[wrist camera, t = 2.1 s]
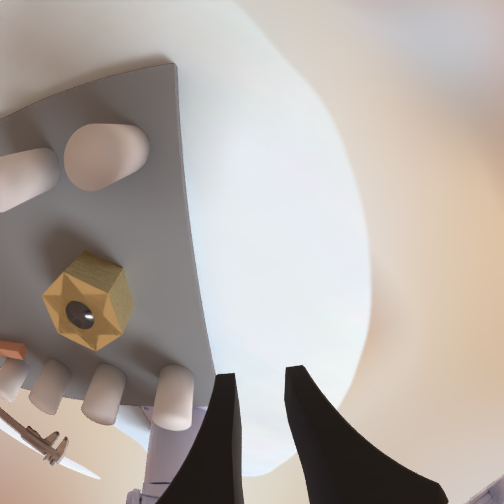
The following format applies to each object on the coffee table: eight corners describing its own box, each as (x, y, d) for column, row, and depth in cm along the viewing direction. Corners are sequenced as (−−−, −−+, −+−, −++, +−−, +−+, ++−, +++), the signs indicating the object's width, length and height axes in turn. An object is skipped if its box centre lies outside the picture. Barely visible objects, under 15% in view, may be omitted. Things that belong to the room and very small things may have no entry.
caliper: (68, 435, 27) (59, 468, 21) (69, 438, 28) (60, 470, 22) (-29, 380, 23) (-44, 405, 17) (-27, 384, 23) (-41, 409, 17)
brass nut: (139, 323, 18) (129, 353, 15) (81, 323, 18) (66, 350, 15) (118, 246, 16) (100, 269, 13) (56, 253, 15) (33, 274, 13)
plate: (220, 397, 23) (222, 447, 18) (15, 380, 22) (-2, 411, 17) (177, 66, 13) (155, 37, 8) (-65, 166, 11) (-102, 180, 6)
